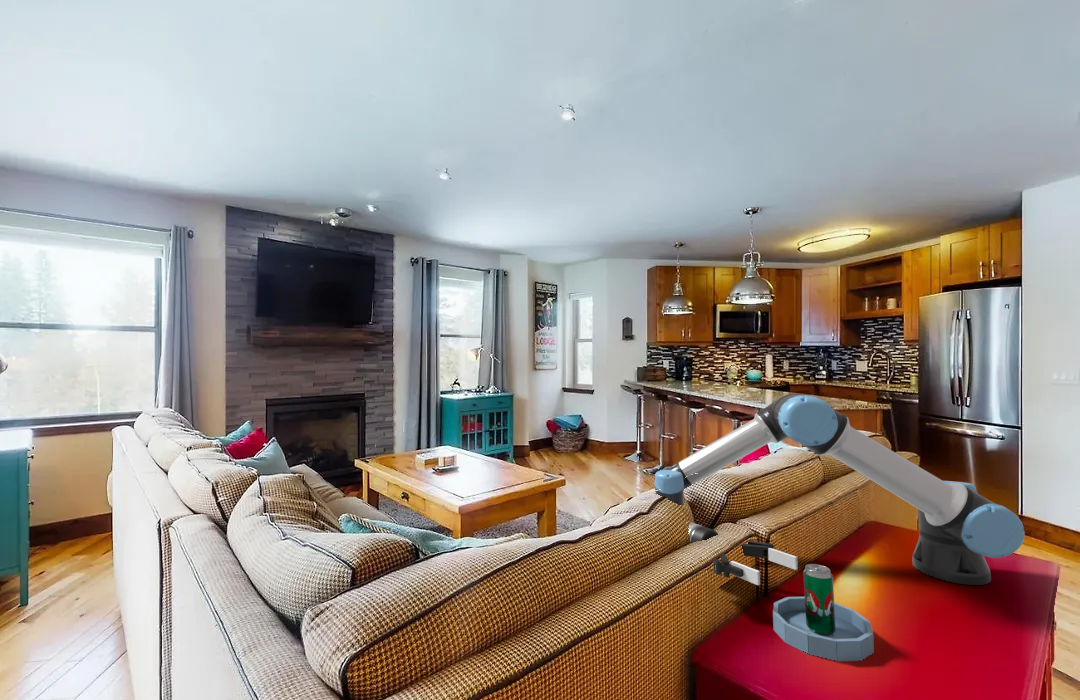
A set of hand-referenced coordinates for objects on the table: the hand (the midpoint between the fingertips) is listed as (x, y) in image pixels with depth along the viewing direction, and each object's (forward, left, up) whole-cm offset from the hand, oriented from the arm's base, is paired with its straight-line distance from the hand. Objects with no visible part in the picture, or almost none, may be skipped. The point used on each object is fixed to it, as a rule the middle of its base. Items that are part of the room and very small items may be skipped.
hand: (778, 570), depth 101 cm
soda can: (0, +8, -9) cm, 12 cm away
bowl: (0, +9, -10) cm, 13 cm away
